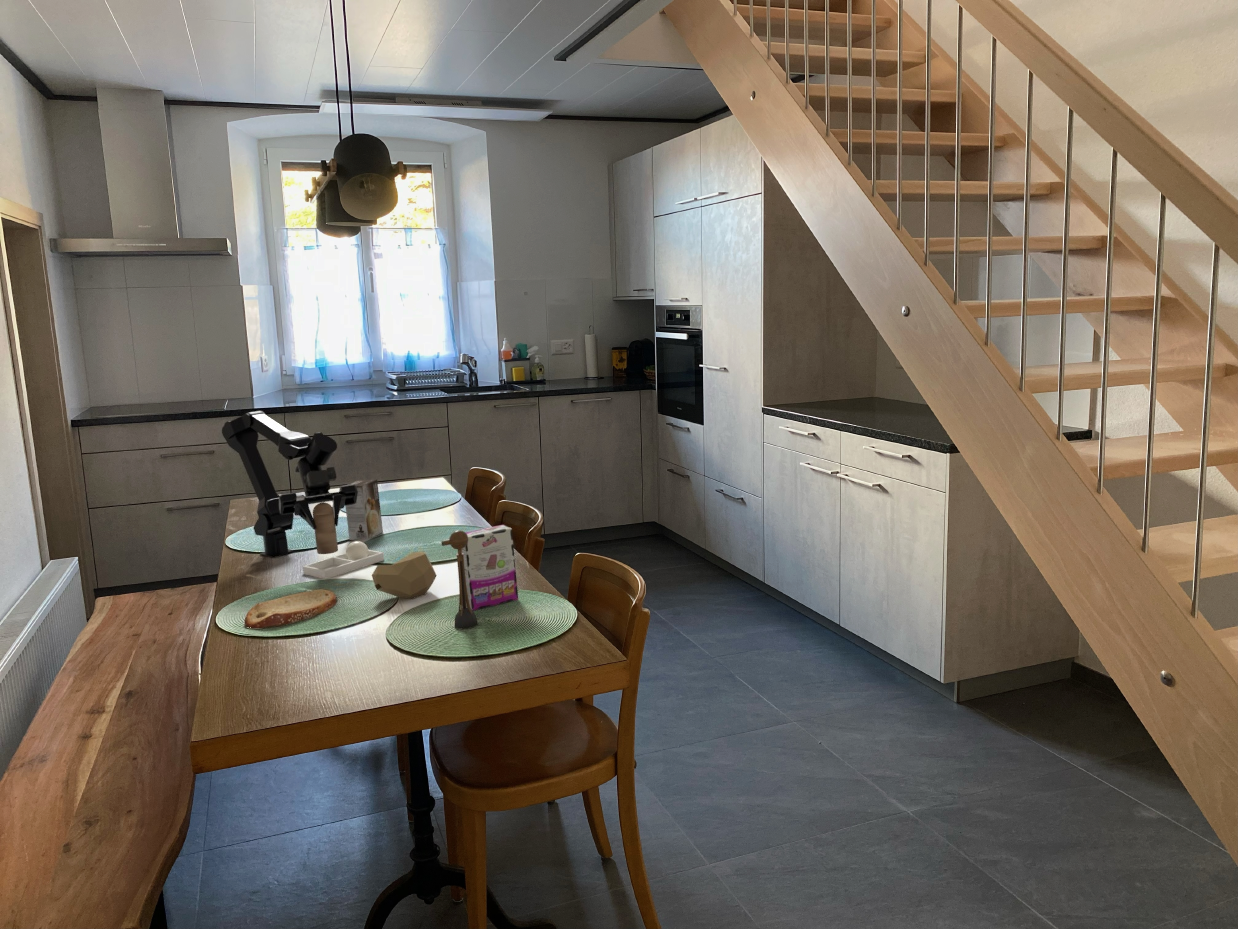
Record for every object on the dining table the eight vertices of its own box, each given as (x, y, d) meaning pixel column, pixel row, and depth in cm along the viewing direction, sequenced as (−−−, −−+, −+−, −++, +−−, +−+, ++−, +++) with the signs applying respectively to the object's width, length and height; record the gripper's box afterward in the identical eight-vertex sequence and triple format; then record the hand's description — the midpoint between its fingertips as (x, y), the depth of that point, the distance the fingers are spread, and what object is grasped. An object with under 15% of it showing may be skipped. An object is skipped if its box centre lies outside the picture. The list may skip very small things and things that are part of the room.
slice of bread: (339, 596, 209) (338, 581, 208) (329, 623, 191) (327, 606, 191) (258, 605, 206) (256, 589, 205) (240, 632, 188) (238, 615, 188)
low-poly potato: (449, 588, 210) (417, 561, 215) (448, 557, 203) (416, 529, 208) (396, 623, 201) (365, 593, 206) (394, 591, 194) (361, 561, 199)
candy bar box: (509, 594, 203) (503, 523, 200) (519, 600, 199) (513, 527, 196) (462, 605, 197) (456, 532, 194) (471, 611, 193) (465, 537, 190)
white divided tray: (303, 575, 226) (302, 566, 225) (361, 557, 240) (360, 548, 239) (326, 581, 220) (324, 571, 220) (384, 561, 234) (383, 552, 234)
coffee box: (363, 532, 267) (357, 479, 264) (383, 532, 266) (378, 478, 263) (348, 540, 258) (342, 485, 255) (369, 540, 257) (363, 485, 254)
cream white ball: (342, 563, 233) (340, 542, 232) (360, 558, 237) (358, 537, 236) (356, 566, 229) (353, 545, 228) (373, 560, 234) (371, 540, 233)
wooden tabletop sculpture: (453, 631, 181) (444, 535, 178) (446, 625, 185) (437, 531, 182) (481, 625, 184) (473, 530, 180) (473, 619, 188) (465, 526, 184)
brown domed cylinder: (313, 552, 225) (307, 503, 223) (329, 547, 229) (324, 499, 227) (325, 555, 222) (319, 505, 220) (342, 550, 226) (336, 501, 224)
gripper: (274, 462, 220) (287, 514, 213) (352, 453, 229) (366, 503, 222) (274, 488, 229) (286, 540, 221) (348, 478, 237) (362, 527, 230)
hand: (325, 526), depth 223 cm, fingers closed on brown domed cylinder, 5 cm apart
